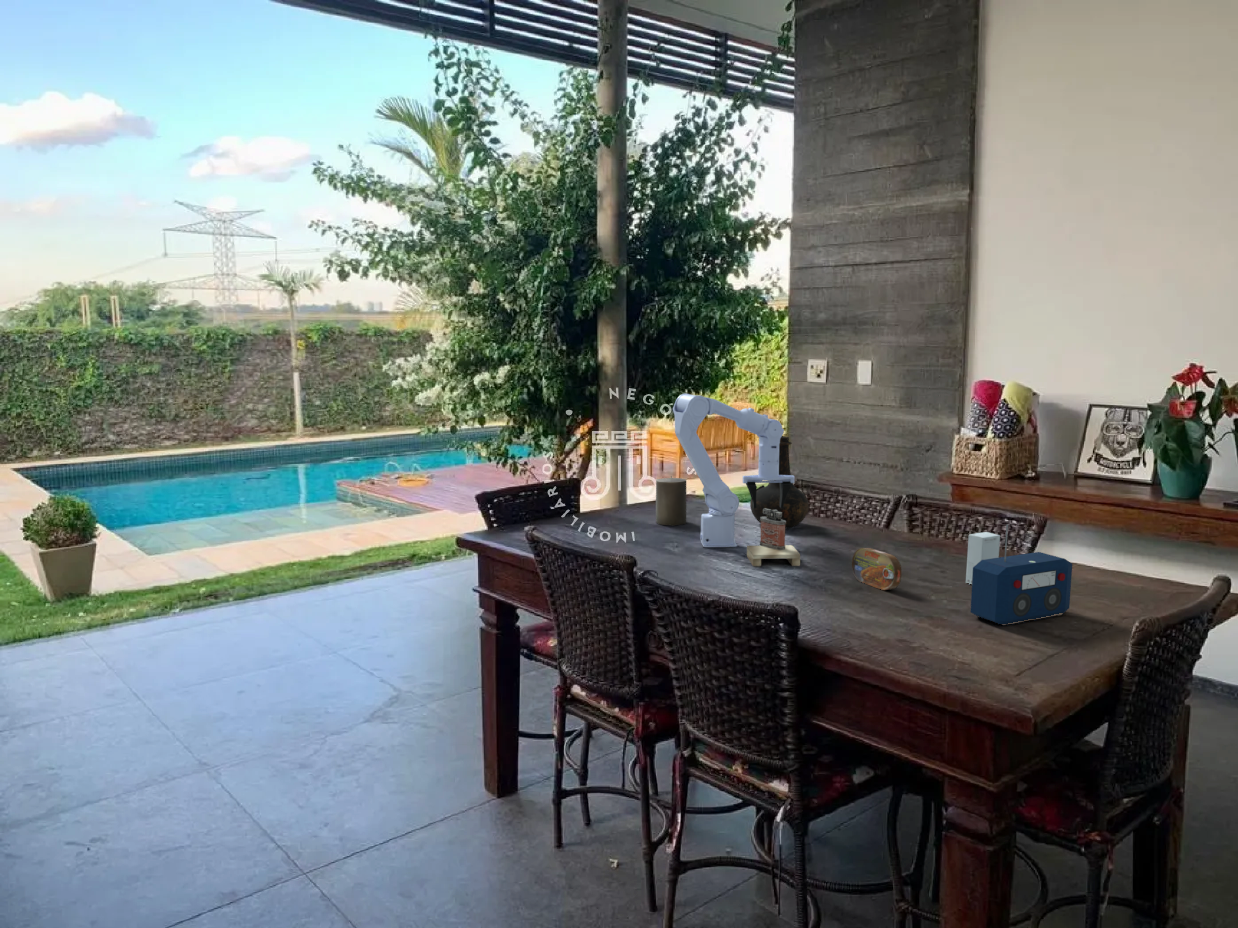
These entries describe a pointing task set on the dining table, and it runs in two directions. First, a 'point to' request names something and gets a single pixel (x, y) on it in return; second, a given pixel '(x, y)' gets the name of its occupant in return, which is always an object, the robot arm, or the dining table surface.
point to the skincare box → (981, 550)
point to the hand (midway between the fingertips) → (768, 507)
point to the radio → (1020, 587)
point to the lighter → (772, 530)
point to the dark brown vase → (770, 494)
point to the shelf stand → (772, 554)
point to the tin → (876, 568)
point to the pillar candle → (671, 501)
